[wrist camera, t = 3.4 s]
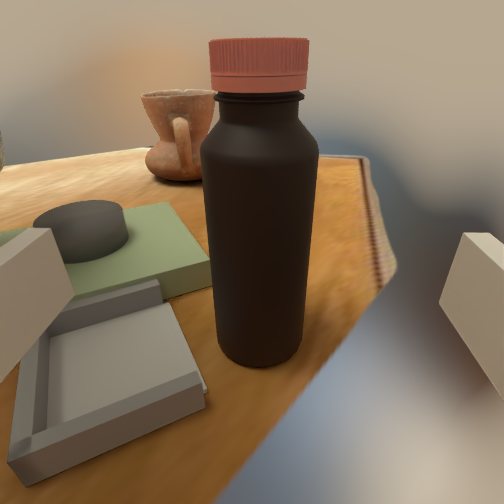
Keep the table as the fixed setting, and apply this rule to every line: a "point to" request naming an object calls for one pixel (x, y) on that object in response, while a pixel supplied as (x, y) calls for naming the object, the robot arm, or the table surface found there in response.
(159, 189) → the table surface
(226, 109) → the vinegar
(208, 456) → the table surface
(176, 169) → the ceramic jug
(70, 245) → the green slab with knob
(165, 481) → the table surface
